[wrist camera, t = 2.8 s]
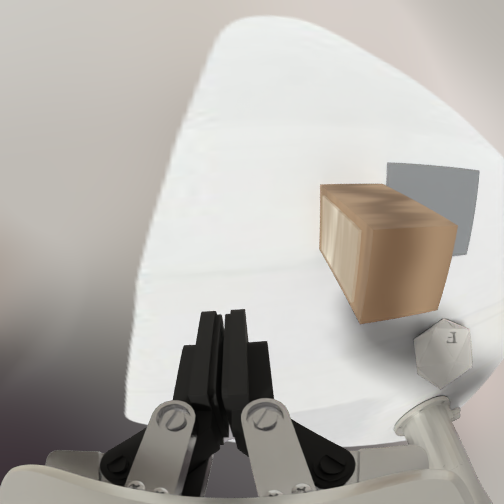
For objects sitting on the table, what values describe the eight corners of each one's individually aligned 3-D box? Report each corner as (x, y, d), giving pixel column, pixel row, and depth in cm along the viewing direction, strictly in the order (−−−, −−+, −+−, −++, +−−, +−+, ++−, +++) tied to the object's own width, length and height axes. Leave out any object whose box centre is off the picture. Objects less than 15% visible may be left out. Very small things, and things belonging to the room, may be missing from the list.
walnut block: (382, 183, 23) (458, 225, 13) (377, 244, 26) (437, 309, 16) (318, 184, 23) (369, 229, 13) (317, 249, 26) (356, 324, 16)
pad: (478, 170, 22) (479, 170, 22) (465, 253, 27) (466, 254, 26) (387, 162, 22) (388, 162, 22) (378, 262, 27) (379, 263, 26)
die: (461, 316, 32) (489, 324, 23) (451, 373, 31) (474, 395, 22) (412, 315, 34) (430, 323, 25) (402, 373, 34) (415, 397, 25)
